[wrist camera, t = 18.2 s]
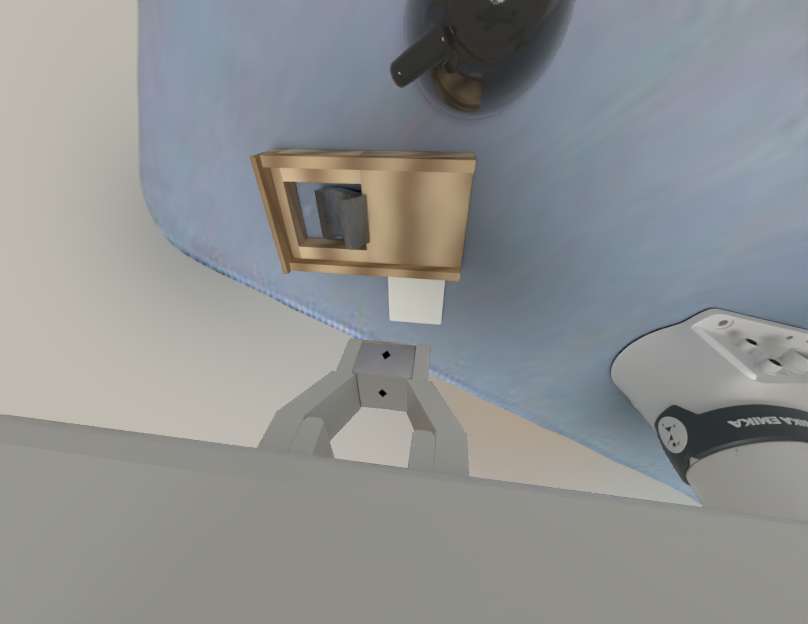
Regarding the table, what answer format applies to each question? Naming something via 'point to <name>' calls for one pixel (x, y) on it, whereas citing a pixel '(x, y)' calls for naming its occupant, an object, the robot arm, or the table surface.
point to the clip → (343, 215)
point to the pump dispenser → (479, 51)
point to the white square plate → (416, 300)
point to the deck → (373, 210)
